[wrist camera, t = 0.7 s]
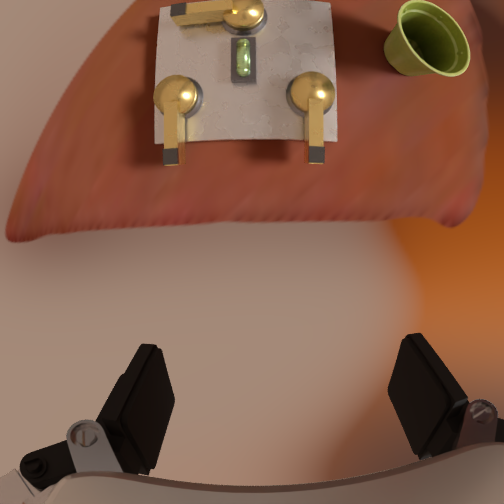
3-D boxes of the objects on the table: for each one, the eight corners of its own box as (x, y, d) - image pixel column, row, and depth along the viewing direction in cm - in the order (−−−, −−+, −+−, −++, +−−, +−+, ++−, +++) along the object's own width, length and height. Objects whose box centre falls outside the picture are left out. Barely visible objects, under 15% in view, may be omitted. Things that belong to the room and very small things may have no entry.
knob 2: (289, 75, 27) (292, 66, 23) (330, 77, 26) (337, 70, 23) (290, 162, 30) (293, 162, 27) (331, 163, 30) (338, 165, 26)
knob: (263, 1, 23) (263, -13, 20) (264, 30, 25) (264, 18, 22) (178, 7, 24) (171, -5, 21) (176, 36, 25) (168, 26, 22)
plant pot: (379, 87, 29) (412, 71, 20) (362, 22, 26) (387, -7, 17) (439, 90, 28) (478, 81, 20) (422, 29, 25) (455, 8, 17)
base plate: (165, 14, 26) (154, 0, 22) (326, 9, 25) (334, -6, 21) (160, 144, 32) (147, 143, 28) (332, 142, 31) (342, 140, 27)
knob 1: (159, 81, 27) (149, 74, 24) (198, 77, 27) (192, 69, 24) (160, 165, 30) (149, 167, 27) (199, 163, 30) (192, 164, 27)
